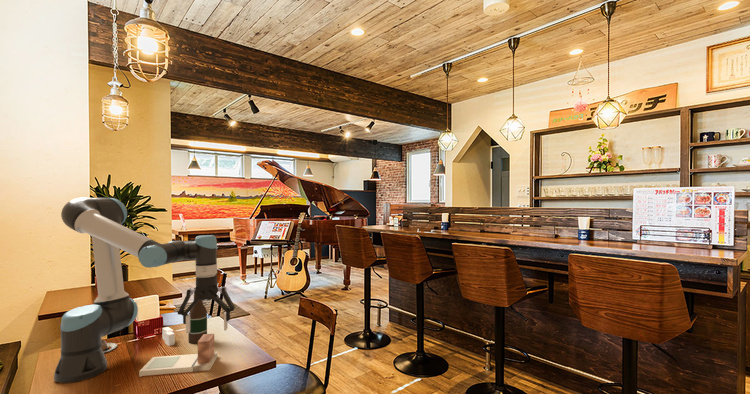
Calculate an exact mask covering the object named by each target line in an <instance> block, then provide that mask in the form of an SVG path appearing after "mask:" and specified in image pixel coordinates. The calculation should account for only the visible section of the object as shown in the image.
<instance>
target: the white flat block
mask: <svg viewBox="0 0 750 394" xmlns="http://www.w3.org/2000/svg"><path fill="white" fill-rule="evenodd" d="M197 361H198V353H191V354H179V355H178V354H175V355H164V356H152V358H150V359H149V360H148V361H147V363H146V364H145V365H144V366H143V367H141V369H139V373H138V377H139V378H141V377H143V376H144V377H145V376H156V375H169V374H181V373H193V372H195V371H194V365H195V364H196V362H197Z"/></svg>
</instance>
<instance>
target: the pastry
mask: <svg viewBox="0 0 750 394" xmlns="http://www.w3.org/2000/svg"><path fill="white" fill-rule="evenodd" d="M109 347H110V348H109ZM101 348H102V351H103V353H104V354H105V353H108V352H111V351H113V350H115V349H116V348H118V344H117V343H115V342H107V341H106V340H104V338H103V339H102V338H101ZM108 348H109V349H108Z"/></svg>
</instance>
